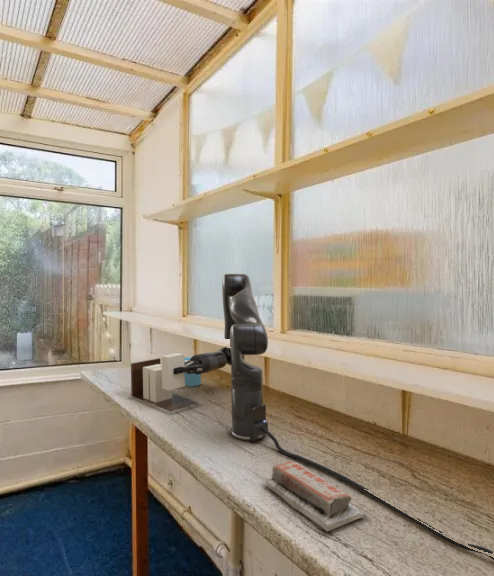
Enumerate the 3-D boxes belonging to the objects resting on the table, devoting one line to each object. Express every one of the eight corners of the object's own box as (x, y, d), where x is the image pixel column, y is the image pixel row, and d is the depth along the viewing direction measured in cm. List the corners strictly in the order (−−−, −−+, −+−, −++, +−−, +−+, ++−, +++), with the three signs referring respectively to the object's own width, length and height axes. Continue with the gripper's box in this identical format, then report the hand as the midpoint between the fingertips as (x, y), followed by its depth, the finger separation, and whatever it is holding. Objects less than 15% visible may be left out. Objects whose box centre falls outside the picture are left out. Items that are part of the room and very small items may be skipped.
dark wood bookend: (199, 405, 142) (199, 367, 142) (170, 414, 133) (170, 374, 133) (158, 391, 161) (158, 357, 161) (130, 398, 152) (130, 363, 152)
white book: (165, 395, 152) (164, 365, 151) (148, 399, 146) (148, 368, 146) (159, 393, 154) (159, 363, 154) (143, 397, 149) (142, 367, 149)
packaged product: (264, 465, 86) (298, 455, 90) (264, 486, 86) (298, 476, 90) (327, 507, 70) (365, 493, 74) (327, 534, 70) (365, 518, 74)
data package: (196, 382, 173) (196, 356, 173) (201, 385, 169) (200, 358, 169) (172, 386, 168) (171, 358, 168) (176, 388, 164) (175, 360, 164)
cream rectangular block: (172, 398, 148) (171, 367, 148) (155, 402, 143) (155, 370, 143) (166, 396, 151) (166, 365, 151) (150, 400, 146) (149, 369, 145)
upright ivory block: (184, 386, 142) (184, 354, 142) (168, 390, 137) (167, 357, 137) (178, 384, 145) (178, 352, 145) (162, 388, 140) (161, 355, 140)
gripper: (191, 351, 157) (158, 357, 145) (217, 356, 146) (182, 363, 135) (192, 369, 157) (158, 377, 146) (217, 375, 146) (183, 384, 135)
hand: (170, 370), depth 140 cm, fingers closed on upright ivory block, 3 cm apart
